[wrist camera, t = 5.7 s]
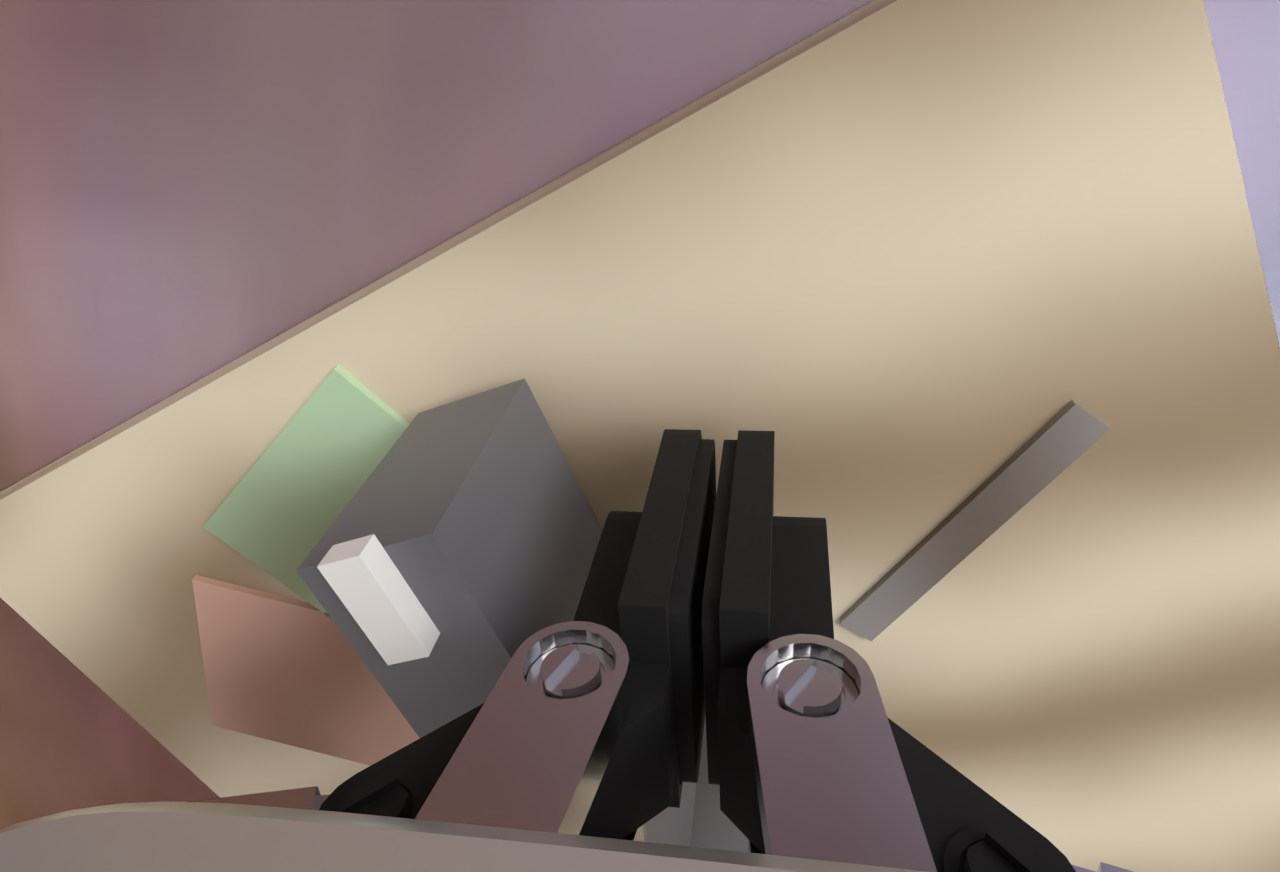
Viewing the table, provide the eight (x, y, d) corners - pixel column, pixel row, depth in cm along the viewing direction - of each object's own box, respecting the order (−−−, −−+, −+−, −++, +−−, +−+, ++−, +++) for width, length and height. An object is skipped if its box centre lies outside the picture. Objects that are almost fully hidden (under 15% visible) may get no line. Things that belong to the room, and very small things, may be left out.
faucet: (829, 851, 18) (860, 1405, 11) (647, 870, 20) (574, 1375, 13) (591, 337, 13) (366, 802, 6) (361, 413, 14) (-46, 863, 7)
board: (1381, 934, 19) (1428, 1011, 18) (545, 1031, 28) (532, 1089, 27) (1120, -140, 10) (1174, -153, 9) (-9, 496, 19) (-73, 541, 17)
